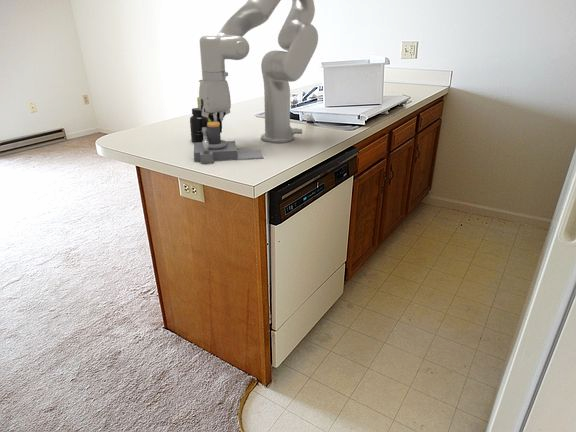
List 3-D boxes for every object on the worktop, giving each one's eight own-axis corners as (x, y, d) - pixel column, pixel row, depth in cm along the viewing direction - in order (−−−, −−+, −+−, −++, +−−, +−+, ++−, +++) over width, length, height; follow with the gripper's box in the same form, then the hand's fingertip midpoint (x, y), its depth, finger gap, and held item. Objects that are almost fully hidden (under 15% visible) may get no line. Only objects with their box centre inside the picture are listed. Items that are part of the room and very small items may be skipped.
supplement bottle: (201, 144, 152) (198, 111, 147) (187, 141, 156) (184, 109, 151) (213, 140, 158) (211, 108, 153) (200, 137, 161) (197, 106, 156)
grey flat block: (235, 149, 147) (234, 140, 146) (238, 161, 134) (238, 152, 133) (195, 151, 145) (194, 142, 144) (194, 164, 132) (193, 155, 131)
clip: (208, 142, 143) (207, 127, 141) (209, 152, 132) (207, 136, 130) (203, 142, 143) (202, 127, 141) (203, 153, 132) (202, 137, 129)
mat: (260, 150, 146) (260, 149, 145) (263, 158, 138) (263, 157, 137) (234, 152, 144) (234, 150, 144) (236, 160, 136) (236, 158, 136)
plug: (227, 151, 145) (225, 119, 140) (228, 158, 138) (226, 125, 133) (203, 152, 144) (201, 120, 139) (203, 159, 137) (201, 126, 132)
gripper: (226, 74, 143) (229, 127, 151) (187, 77, 134) (192, 133, 142) (239, 76, 138) (241, 131, 146) (199, 80, 129) (204, 137, 137)
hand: (217, 132), depth 144 cm, fingers closed
